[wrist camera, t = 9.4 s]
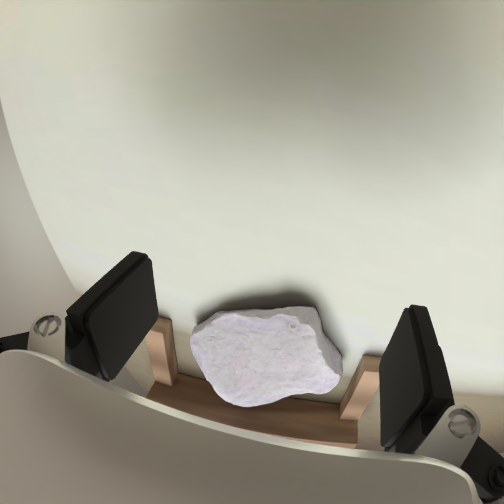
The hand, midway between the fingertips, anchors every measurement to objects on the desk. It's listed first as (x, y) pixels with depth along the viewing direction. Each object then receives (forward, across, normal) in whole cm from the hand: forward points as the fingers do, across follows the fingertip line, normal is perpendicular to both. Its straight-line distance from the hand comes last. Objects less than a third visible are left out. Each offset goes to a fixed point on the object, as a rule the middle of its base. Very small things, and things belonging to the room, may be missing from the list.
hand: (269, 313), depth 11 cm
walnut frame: (+11, +1, +18) cm, 21 cm away
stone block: (+12, +1, +13) cm, 17 cm away
